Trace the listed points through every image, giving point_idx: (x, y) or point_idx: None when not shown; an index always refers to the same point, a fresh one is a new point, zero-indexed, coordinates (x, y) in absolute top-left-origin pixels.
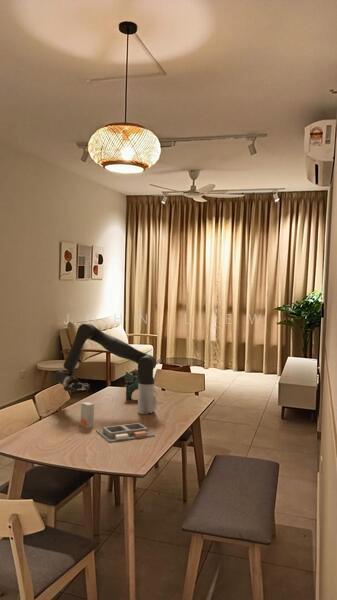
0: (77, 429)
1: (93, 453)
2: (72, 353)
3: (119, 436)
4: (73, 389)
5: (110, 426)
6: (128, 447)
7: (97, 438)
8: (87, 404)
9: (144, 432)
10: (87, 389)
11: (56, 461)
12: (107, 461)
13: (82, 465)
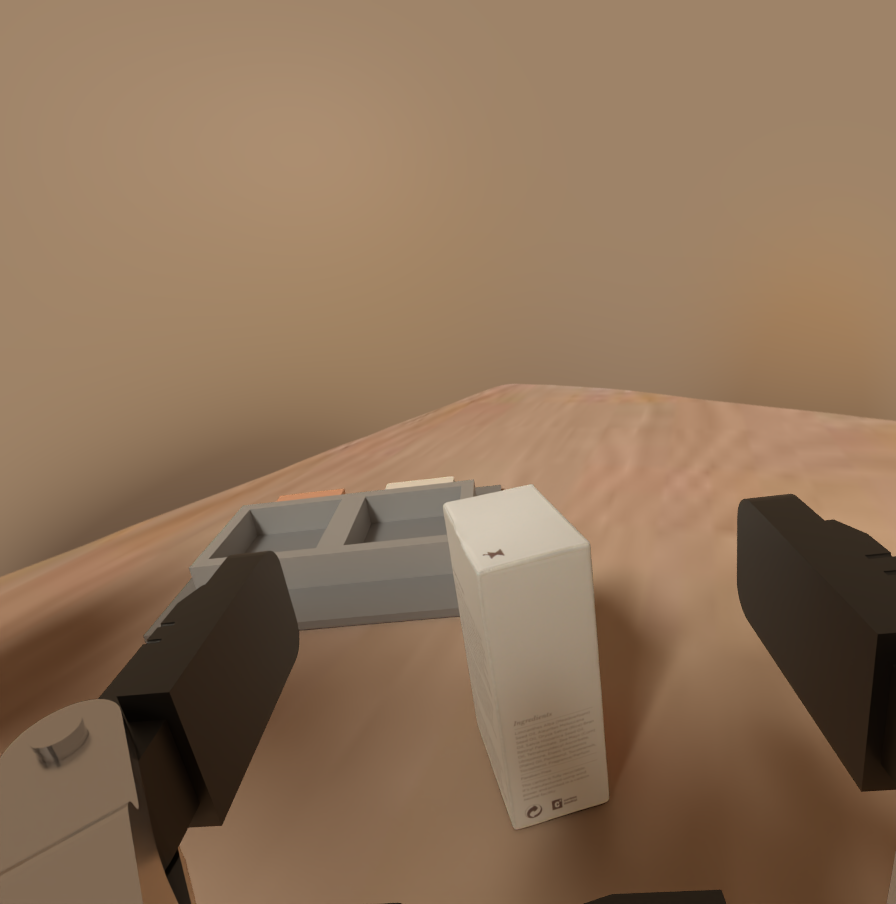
0: (662, 686)
1: (612, 437)
2: None
3: (439, 479)
4: (748, 523)
5: (412, 544)
6: (447, 459)
7: None
8: (526, 495)
9: (291, 496)
10: (285, 614)
11: (774, 408)
12: (576, 408)
13: (669, 397)
